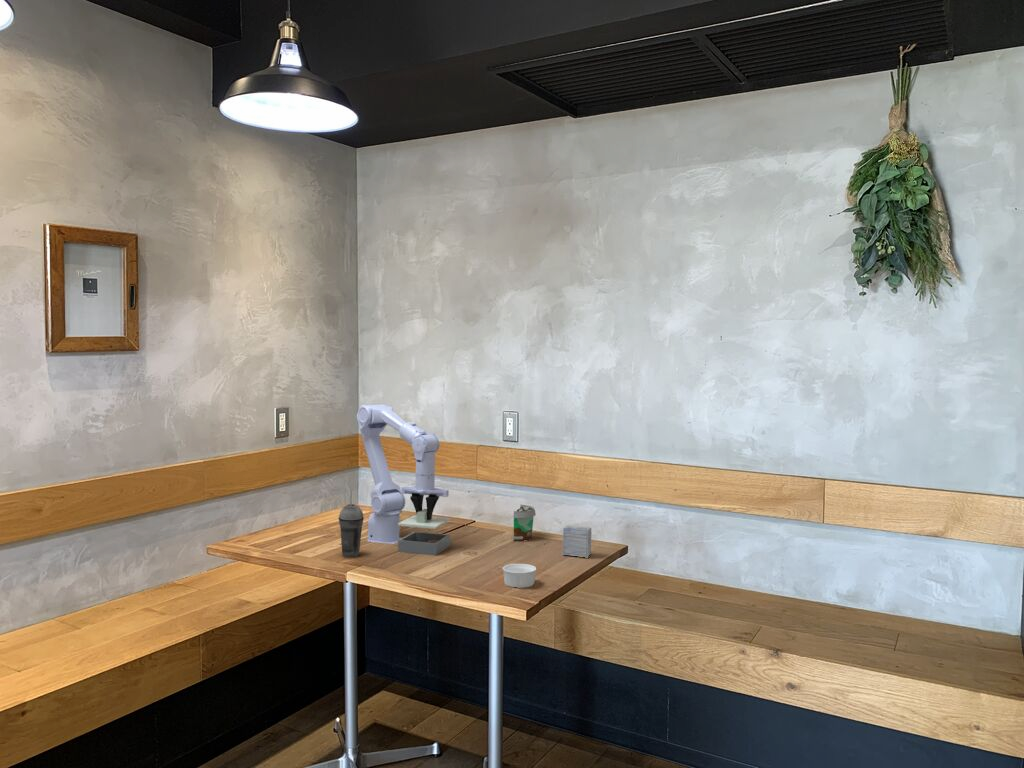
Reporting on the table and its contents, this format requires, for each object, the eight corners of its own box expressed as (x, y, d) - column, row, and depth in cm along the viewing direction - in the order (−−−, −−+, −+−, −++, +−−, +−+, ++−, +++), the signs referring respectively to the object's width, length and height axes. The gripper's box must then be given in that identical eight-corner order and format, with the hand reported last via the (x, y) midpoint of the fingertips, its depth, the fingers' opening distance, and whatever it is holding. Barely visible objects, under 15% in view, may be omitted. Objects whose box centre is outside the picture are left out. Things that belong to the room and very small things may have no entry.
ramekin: (497, 586, 200) (497, 570, 200) (509, 577, 209) (510, 561, 208) (529, 590, 197) (529, 574, 197) (540, 581, 205) (541, 565, 205)
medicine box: (591, 555, 233) (592, 527, 233) (587, 559, 229) (588, 530, 228) (566, 552, 236) (566, 524, 235) (562, 556, 231) (563, 527, 231)
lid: (397, 526, 228) (398, 513, 228) (413, 518, 240) (413, 505, 240) (435, 530, 225) (435, 516, 225) (449, 521, 237) (450, 508, 236)
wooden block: (427, 548, 234) (428, 542, 234) (428, 546, 237) (428, 539, 236) (437, 548, 234) (437, 542, 234) (438, 546, 237) (438, 539, 237)
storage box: (398, 553, 230) (398, 540, 230) (414, 544, 241) (414, 531, 241) (435, 557, 226) (435, 543, 226) (449, 547, 238) (450, 534, 238)
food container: (531, 543, 245) (532, 512, 245) (512, 542, 247) (513, 511, 246) (537, 535, 257) (538, 505, 257) (519, 533, 259) (520, 504, 258)
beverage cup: (341, 562, 219) (342, 492, 218) (335, 555, 226) (336, 488, 225) (366, 559, 222) (367, 490, 222) (359, 553, 229) (360, 486, 228)
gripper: (397, 474, 230) (396, 519, 231) (443, 477, 226) (442, 523, 227) (406, 471, 237) (406, 515, 237) (451, 474, 233) (450, 518, 233)
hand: (424, 518), depth 232 cm, fingers closed on lid, 2 cm apart
